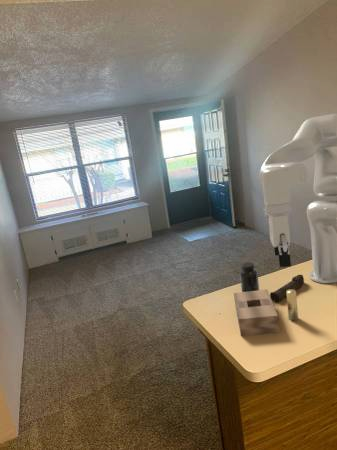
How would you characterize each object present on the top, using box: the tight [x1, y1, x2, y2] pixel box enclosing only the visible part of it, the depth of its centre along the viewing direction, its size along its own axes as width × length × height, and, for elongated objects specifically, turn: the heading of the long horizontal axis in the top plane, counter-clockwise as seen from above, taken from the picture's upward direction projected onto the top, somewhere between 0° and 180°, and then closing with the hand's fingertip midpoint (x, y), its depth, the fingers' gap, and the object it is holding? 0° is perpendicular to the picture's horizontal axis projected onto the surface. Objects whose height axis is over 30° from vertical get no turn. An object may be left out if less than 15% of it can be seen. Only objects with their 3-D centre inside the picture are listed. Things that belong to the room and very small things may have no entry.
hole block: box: [233, 289, 280, 337], centre depth 113 cm, size 12×18×6 cm, turn 174°
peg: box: [286, 289, 299, 322], centre depth 108 cm, size 3×3×10 cm
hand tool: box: [269, 274, 305, 303], centre depth 126 cm, size 19×4×5 cm, turn 124°
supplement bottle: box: [239, 261, 260, 292], centre depth 131 cm, size 7×7×12 cm
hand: (282, 260), depth 105 cm, fingers open, 9 cm apart
